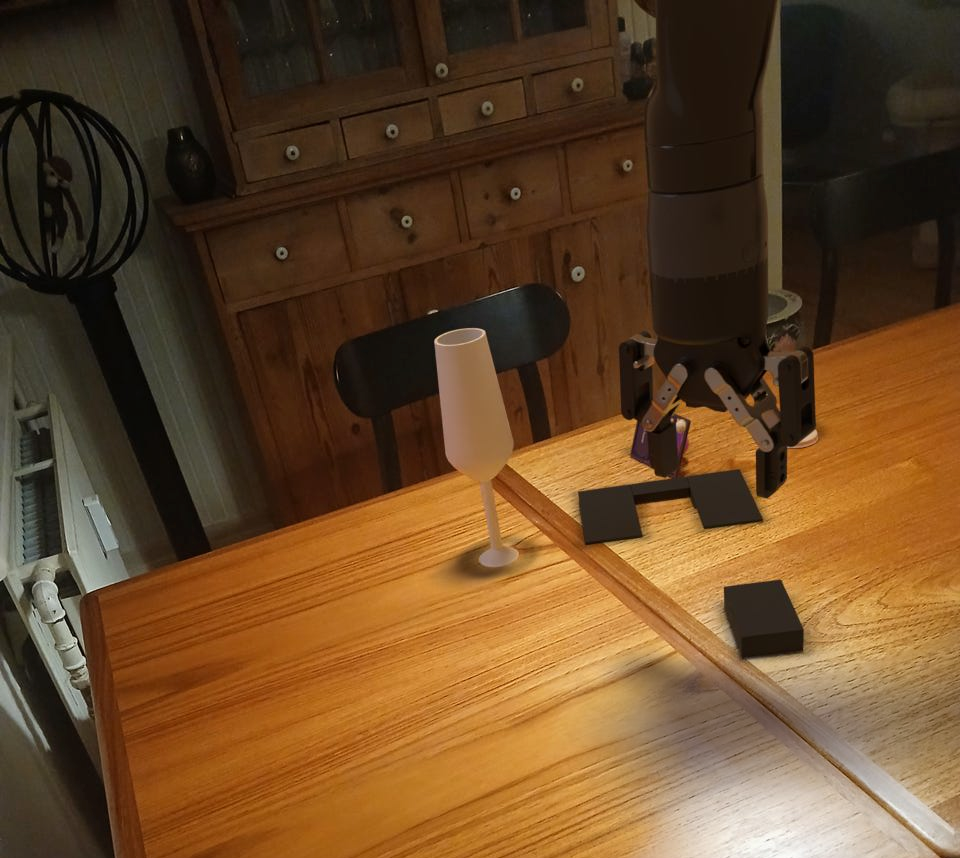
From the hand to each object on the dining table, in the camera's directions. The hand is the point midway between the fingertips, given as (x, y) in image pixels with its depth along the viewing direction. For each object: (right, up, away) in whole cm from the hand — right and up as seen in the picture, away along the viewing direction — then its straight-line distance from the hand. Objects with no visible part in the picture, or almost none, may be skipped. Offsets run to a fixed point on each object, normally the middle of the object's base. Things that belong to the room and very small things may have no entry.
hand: (715, 482), depth 72 cm
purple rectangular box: (+5, +9, +44) cm, 45 cm away
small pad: (+7, -11, +12) cm, 18 cm away
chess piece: (+20, +12, +43) cm, 49 cm away
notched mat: (+3, +2, +33) cm, 33 cm away
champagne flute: (-15, -4, +30) cm, 34 cm away
